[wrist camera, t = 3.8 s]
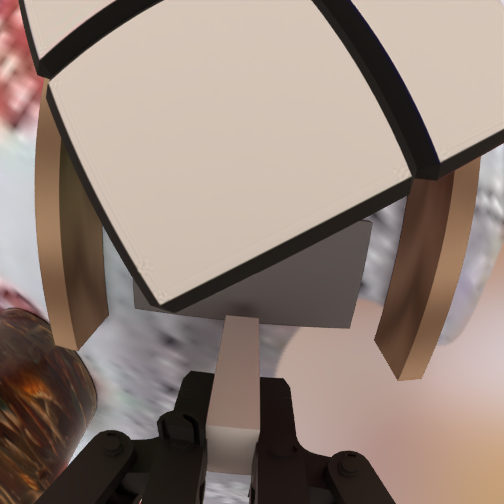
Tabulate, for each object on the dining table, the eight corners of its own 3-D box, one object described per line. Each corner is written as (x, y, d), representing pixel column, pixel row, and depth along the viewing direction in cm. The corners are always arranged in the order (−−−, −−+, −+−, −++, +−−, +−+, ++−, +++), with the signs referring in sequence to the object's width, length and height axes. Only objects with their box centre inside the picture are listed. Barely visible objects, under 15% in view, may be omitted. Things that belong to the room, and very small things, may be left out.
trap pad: (347, 325, 16) (349, 328, 16) (137, 305, 16) (134, 308, 16) (369, 220, 15) (372, 222, 14) (134, 198, 14) (132, 199, 14)
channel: (394, 339, 17) (421, 378, 13) (88, 311, 16) (55, 344, 13) (433, 20, 11) (469, -3, 7) (112, -12, 11) (82, -42, 7)
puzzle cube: (398, 136, 13) (559, 114, 3) (221, 225, 14) (156, 331, 5) (301, -18, 11) (337, -149, 1) (130, 60, 12) (6, -30, 2)
